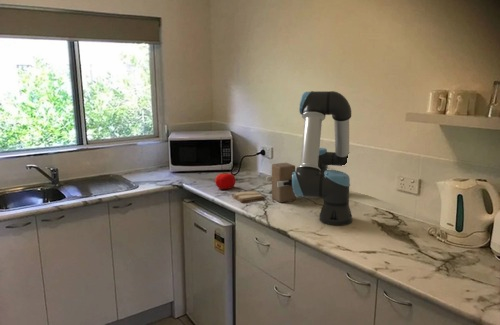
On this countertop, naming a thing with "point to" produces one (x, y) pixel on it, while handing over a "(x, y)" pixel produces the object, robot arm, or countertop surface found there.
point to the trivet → (248, 196)
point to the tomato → (225, 181)
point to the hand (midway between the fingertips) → (271, 181)
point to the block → (282, 174)
